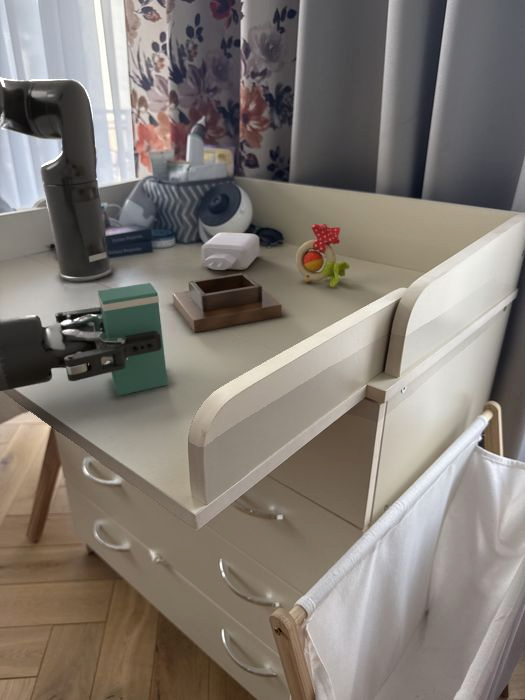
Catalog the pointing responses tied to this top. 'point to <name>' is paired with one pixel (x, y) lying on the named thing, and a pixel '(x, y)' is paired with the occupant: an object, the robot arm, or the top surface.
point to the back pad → (128, 319)
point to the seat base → (225, 302)
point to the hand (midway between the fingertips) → (152, 328)
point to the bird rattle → (320, 256)
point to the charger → (230, 251)
